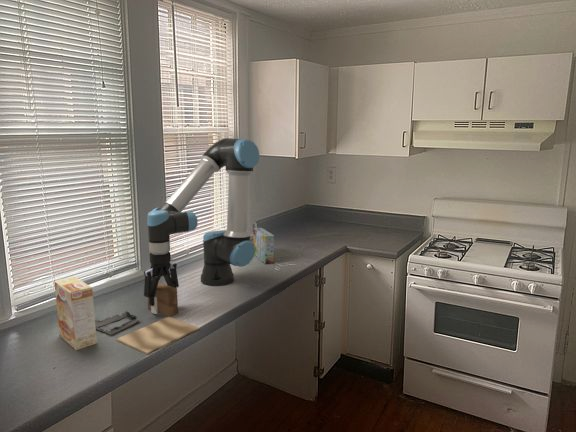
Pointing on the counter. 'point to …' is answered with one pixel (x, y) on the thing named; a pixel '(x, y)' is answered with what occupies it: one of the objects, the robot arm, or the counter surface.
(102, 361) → the counter surface
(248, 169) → the robot arm
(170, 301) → the walnut slab
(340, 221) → the counter surface
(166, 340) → the light wood board
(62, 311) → the coffeecake box
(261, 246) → the snack box
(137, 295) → the counter surface
